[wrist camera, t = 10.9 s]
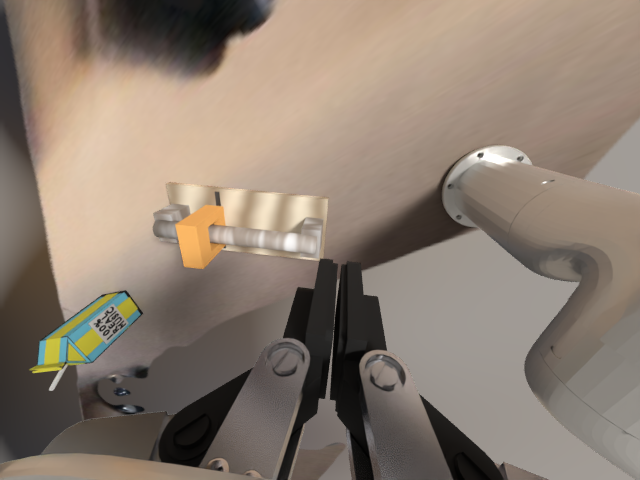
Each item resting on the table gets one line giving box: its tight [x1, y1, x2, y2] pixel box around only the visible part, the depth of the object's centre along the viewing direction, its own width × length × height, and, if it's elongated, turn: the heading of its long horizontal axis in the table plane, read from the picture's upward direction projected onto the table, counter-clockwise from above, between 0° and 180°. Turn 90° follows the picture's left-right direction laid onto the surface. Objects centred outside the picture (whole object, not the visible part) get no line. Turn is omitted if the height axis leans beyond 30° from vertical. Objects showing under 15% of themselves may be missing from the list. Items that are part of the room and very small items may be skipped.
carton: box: [30, 291, 143, 391], centre depth 51 cm, size 7×8×18 cm
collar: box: [175, 205, 226, 269], centre depth 40 cm, size 3×7×8 cm, turn 176°
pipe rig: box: [153, 182, 329, 261], centre depth 42 cm, size 28×12×8 cm, turn 86°
